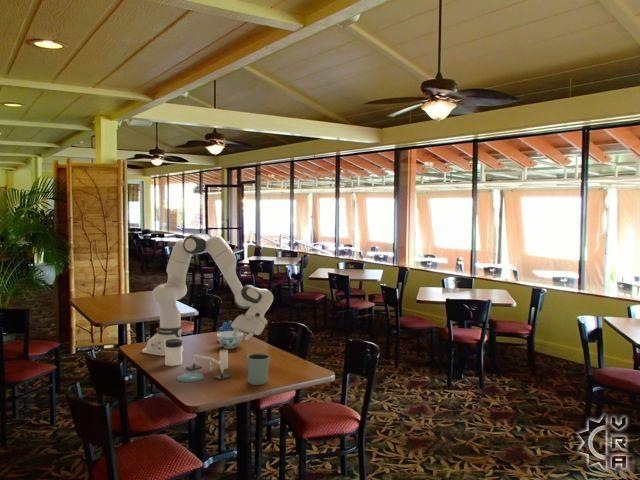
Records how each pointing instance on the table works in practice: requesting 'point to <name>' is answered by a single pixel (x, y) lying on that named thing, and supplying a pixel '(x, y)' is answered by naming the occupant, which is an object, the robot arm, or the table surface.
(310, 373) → the table surface
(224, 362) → the salt shaker
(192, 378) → the saucer
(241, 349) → the table surface
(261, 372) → the grey-green open cylinder
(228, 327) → the grapes
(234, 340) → the chinaware
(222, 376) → the bent bar stand
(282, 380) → the table surface
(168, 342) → the jar
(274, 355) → the table surface
